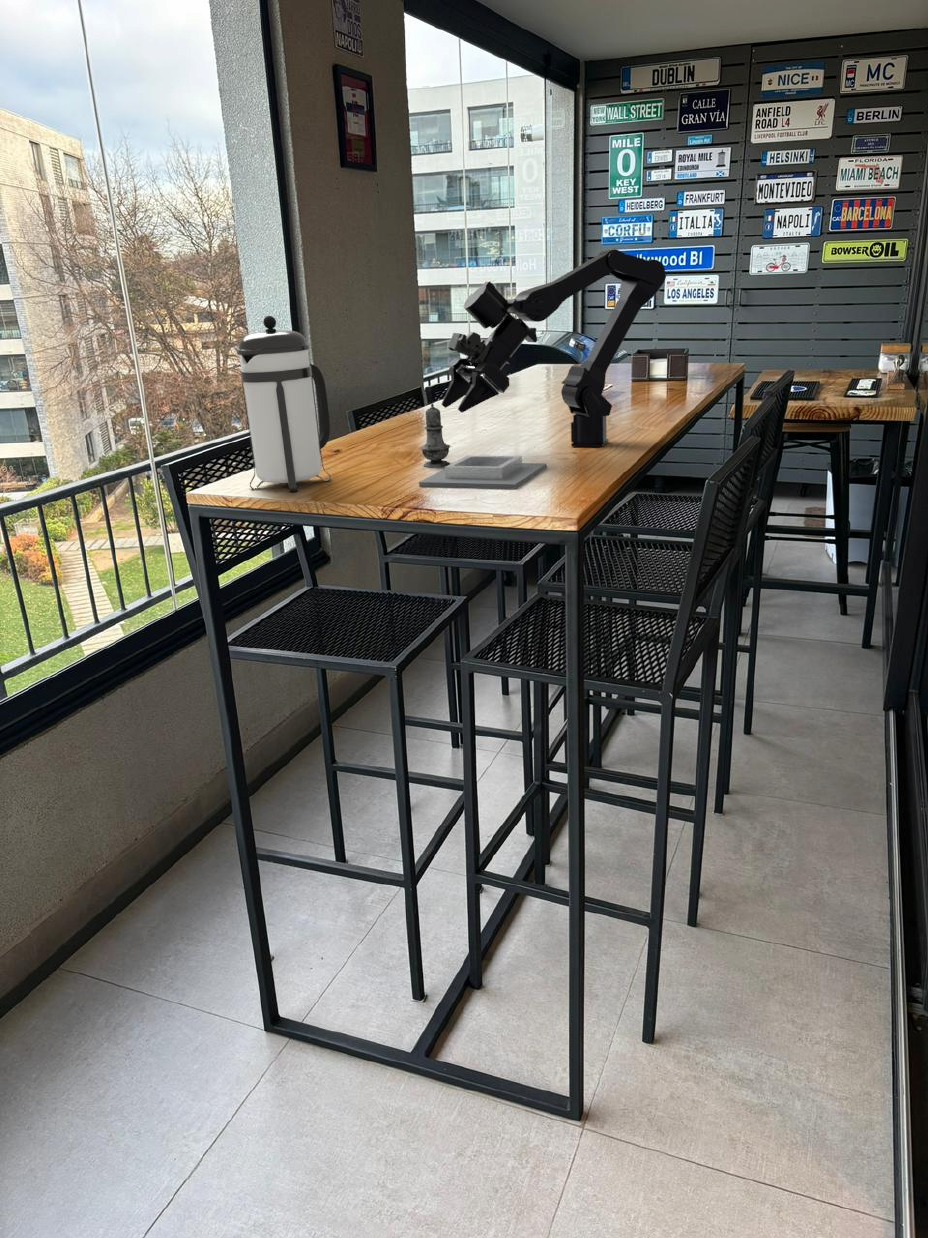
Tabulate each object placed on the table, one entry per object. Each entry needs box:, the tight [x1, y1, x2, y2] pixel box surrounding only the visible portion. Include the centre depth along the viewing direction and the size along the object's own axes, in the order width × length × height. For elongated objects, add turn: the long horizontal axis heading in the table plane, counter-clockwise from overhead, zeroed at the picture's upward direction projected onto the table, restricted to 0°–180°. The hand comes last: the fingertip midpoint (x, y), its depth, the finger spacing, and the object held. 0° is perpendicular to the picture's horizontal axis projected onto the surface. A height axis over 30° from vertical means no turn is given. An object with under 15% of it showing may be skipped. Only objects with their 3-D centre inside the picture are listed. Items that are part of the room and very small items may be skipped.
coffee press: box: [235, 315, 331, 493], centre depth 165 cm, size 17×16×30 cm
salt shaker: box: [420, 402, 451, 469], centre depth 177 cm, size 6×6×12 cm
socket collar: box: [444, 455, 523, 479], centre depth 164 cm, size 11×11×2 cm
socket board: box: [418, 462, 548, 490], centre depth 165 cm, size 18×18×1 cm
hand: (451, 408), depth 176 cm, fingers open, 9 cm apart
